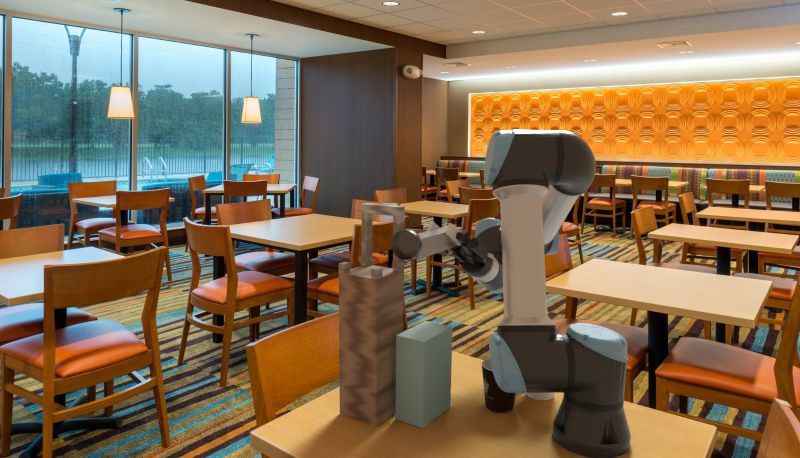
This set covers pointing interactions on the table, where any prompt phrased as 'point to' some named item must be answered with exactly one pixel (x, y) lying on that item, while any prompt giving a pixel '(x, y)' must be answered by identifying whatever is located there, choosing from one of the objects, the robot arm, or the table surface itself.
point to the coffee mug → (495, 392)
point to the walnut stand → (370, 326)
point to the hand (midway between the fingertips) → (439, 227)
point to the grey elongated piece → (421, 243)
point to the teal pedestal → (423, 373)
